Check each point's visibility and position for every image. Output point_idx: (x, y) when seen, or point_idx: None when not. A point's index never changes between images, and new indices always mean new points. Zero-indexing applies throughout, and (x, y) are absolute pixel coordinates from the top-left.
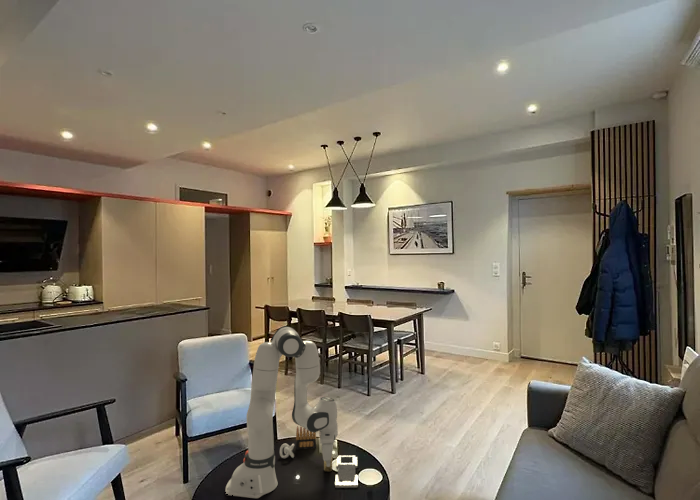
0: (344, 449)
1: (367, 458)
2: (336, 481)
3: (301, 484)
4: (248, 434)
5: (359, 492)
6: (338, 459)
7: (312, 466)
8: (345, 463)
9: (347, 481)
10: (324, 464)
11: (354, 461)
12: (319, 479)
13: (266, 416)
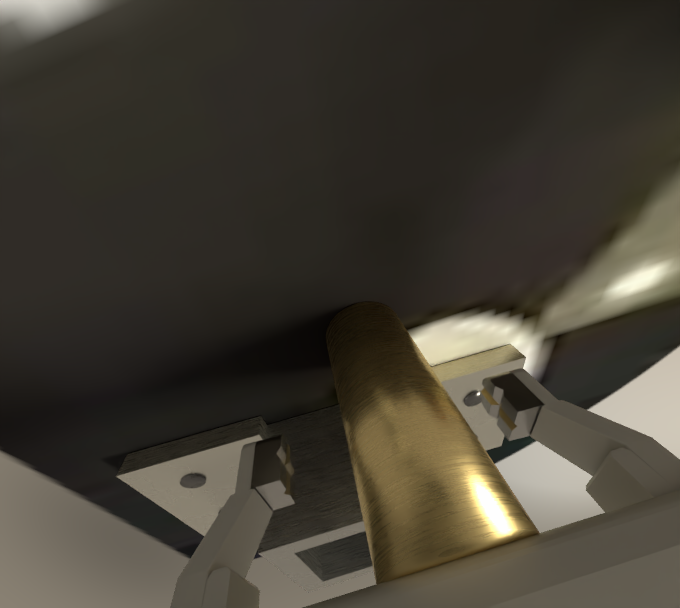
0: (635, 340)
1: (492, 458)
2: (170, 467)
3: None
4: None
5: (169, 532)
6: (359, 522)
7: (403, 155)
8: (299, 569)
9: (210, 502)
10: (347, 357)
11: (347, 578)
12: (169, 325)
13: None
